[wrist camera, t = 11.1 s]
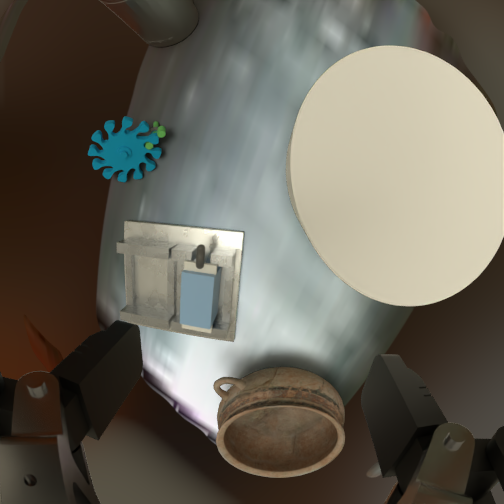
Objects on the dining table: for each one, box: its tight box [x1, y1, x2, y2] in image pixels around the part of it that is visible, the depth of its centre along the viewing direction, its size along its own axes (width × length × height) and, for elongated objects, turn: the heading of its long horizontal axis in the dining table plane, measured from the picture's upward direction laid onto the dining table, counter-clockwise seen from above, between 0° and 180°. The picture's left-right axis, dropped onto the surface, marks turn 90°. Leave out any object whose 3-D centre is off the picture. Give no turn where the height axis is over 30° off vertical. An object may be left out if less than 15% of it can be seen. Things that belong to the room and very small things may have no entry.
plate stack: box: [286, 46, 504, 306], centre depth 30 cm, size 28×28×12 cm
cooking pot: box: [214, 367, 345, 477], centre depth 38 cm, size 25×19×12 cm
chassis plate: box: [117, 220, 244, 342], centre depth 39 cm, size 16×17×5 cm
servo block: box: [180, 244, 222, 333], centre depth 37 cm, size 12×4×5 cm, turn 173°
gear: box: [88, 116, 165, 182], centre depth 35 cm, size 11×6×10 cm
